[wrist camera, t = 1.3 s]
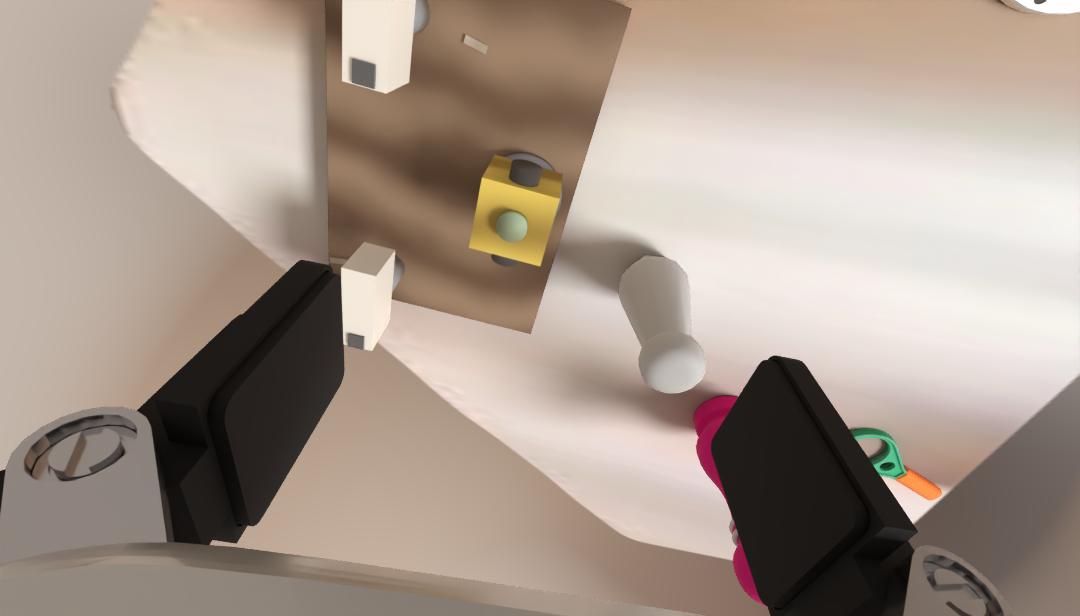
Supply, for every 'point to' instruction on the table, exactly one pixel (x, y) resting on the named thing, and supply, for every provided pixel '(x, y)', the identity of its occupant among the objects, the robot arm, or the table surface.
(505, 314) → the level base
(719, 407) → the pepper mill
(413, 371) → the table surface
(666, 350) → the salt shaker
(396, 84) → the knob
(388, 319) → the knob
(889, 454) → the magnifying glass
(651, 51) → the table surface
